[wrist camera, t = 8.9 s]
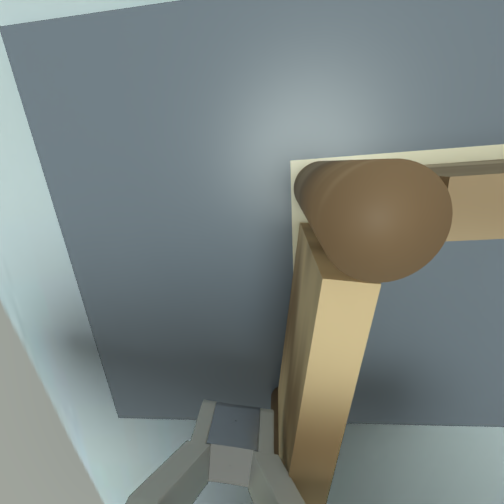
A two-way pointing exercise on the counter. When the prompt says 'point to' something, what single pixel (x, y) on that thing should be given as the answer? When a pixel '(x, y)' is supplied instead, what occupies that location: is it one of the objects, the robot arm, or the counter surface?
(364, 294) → the fence hinged panel
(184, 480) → the robot arm
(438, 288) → the card
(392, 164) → the fence fixed panel
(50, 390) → the counter surface
